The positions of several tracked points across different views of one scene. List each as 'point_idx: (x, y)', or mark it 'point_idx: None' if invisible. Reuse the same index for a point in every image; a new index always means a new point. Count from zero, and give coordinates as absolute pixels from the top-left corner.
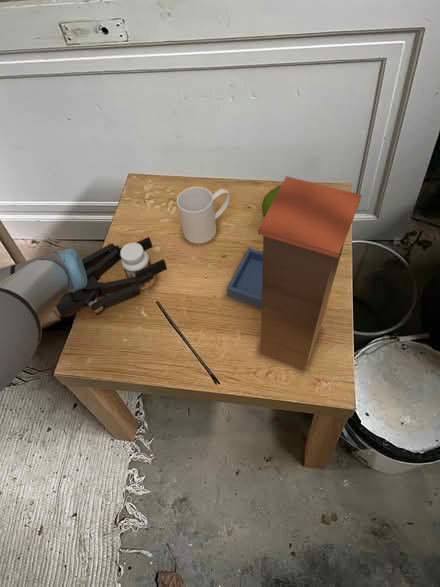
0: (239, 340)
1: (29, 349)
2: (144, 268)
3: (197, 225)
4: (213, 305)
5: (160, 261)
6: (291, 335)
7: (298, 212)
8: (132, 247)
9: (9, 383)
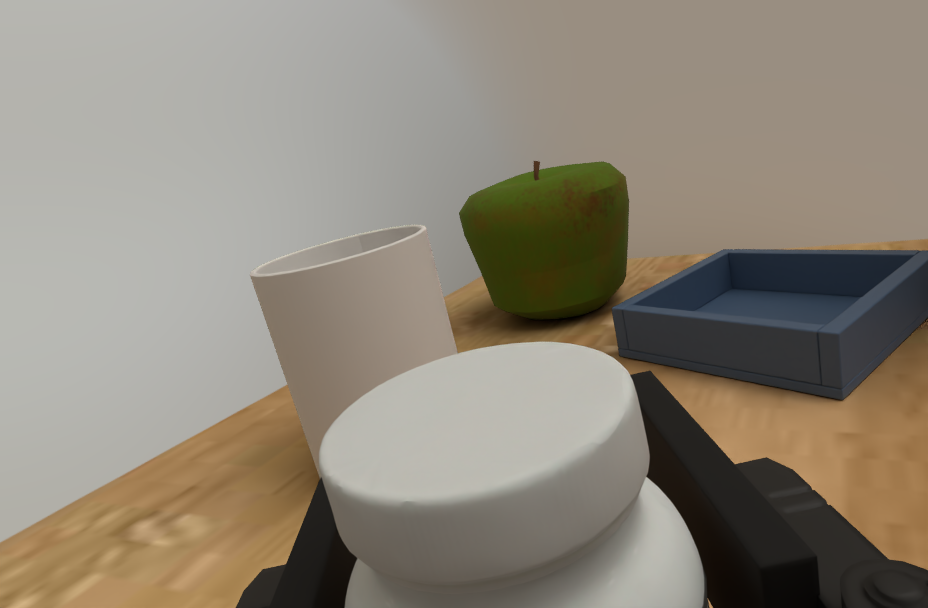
0: None
1: None
2: (700, 474)
3: (437, 328)
4: (923, 443)
5: (642, 386)
6: None
7: None
8: (419, 401)
9: None
